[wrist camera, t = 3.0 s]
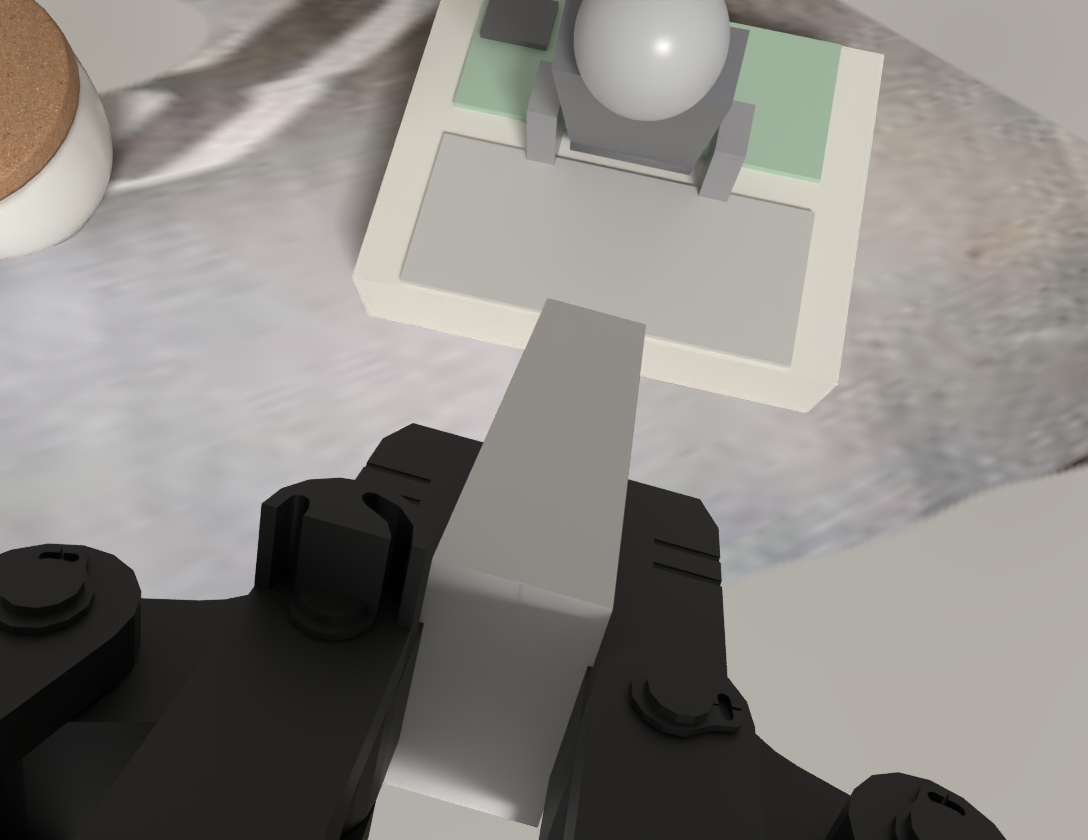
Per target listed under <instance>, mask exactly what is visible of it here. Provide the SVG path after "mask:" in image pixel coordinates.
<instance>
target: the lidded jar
mask: <svg viewBox="0 0 1088 840" xmlns="http://www.w3.org/2000/svg"><path fill="white" fill-rule="evenodd" d="M112 161H113V148H112V138H111V129H110V126H109V122H108V119H107V116H106V113H105V110H104V107H103V104H102V101H101V99H100V97H99V95H98V93H97V91H96V89H95V87H94V85H93V83H92V81H91V80H90V78H89V76H88V74H87V72H86V70H85V69H84V67H83V66H82V65H81V63H80V61H79V60H78V58H77V57H76V55H75V54H74V53H73V51H72V48H71V47H70V45H69V43H68V41H67V39H66V37H65V35H64V34H63V32H62V31H61V29H60V28H59V27H58V25H57V24H56V23H55V21H54V20H53V19H52V18H51V17H50V15H49V14H48V13H47V12H46V10H45V9H44V8H42V7H41V6H40V5H39V4H38V3H37V2H35V1H34V0H0V260H1V259H12V258H18V257H23V256H28V255H32V254H35V253H38V252H41V251H44V250H46V249H48V248H50V247H52V246H55V245H57V244H59V243H61V242H63V241H65V240H67V239H68V238H70V237H71V236H73V235H74V234H75V233H76V232H78V231H79V230H80V229H81V228H82V227H83V226H84V225H85V224H86V222H87V221H88V220H89V219H90V217H91V216H92V214H93V213H94V212H95V210H96V208H97V207H98V205H99V204H100V202H101V201H102V198H103V196H104V194H105V192H106V189H107V186H108V182H109V178H110V174H111V170H112Z"/></svg>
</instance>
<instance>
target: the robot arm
mask: <svg viewBox="0 0 1088 840" xmlns="http://www.w3.org/2000/svg"><path fill="white" fill-rule="evenodd" d="M645 330H646V324H642V323H639V322H635V321H631V320H628V319H624V318H620V317H617V316H613V315H609V314H605V313H602V312H598V311H594V310H591V309H587V308H583V307H580V306H576V305H572V304H569V303H565V302H561V301H558V300H554V299H550V298H547V300H546V302H545V305H544V307H543V309H542V312H541V314H540V316H539V318H538V321H537V323H536V325H535V327H534V330H533V332H532V334H531V336H530V339H529V341H528V343H527V345H526V348H525V350H524V352H523V355H522V357H521V359H520V361H519V364H518V366H517V368H516V370H515V373H514V375H513V377H512V379H511V382H510V384H509V386H508V388H507V391H506V393H505V395H504V398H503V400H502V402H501V404H500V407H499V409H498V411H497V413H496V416H495V418H494V420H493V422H492V425H491V427H490V429H489V431H488V434H487V436H486V438H485V441H484V443H483V442H480V441H476V440H472V439H469V438H465V437H461V436H458V435H454V434H451V433H447V432H443V431H440V430H436V429H433V428H429V427H425V426H422V425H418V424H414V423H412V424H410V425H408V426H406V427H404V428H402V429H400V430H399V431H397V432H395V433H393V434H391V435H389V436H387V437H385V438H383V439H382V441H381V442H380V444H379V445H378V447H377V448H376V450H375V451H374V453H373V454H372V456H371V457H370V459H369V460H368V462H367V465H366V467H364V468H363V469H362V471H361V472H360V474H359V475H358V476H357V478H356V479H355V480H352V479H345V478H327V479H310V480H306V481H303V482H300V483H297V484H294V485H291V486H287V487H284V488H281V489H280V490H279V491H277V492H276V493H275V494H274V495H272V496H271V497H270V498H268V499H267V500H266V501H264V502H263V503H262V506H261V517H260V528H259V540H258V551H257V562H256V573H255V584H254V587H253V589H252V590H251V592H250V593H249V594H248V595H245V596H240V597H235V598H230V599H224V600H199V601H198V600H172V599H145V598H141V589H140V587H139V584H138V581H137V579H136V576H135V573H134V571H133V570H132V569H131V568H130V567H128V566H127V565H126V564H125V563H123V562H122V561H121V560H119V559H118V558H117V557H116V556H114V555H113V554H109V553H106V552H103V551H100V550H97V549H94V548H90V547H87V546H84V545H65V544H43V545H37V546H31V547H25V548H19V549H13V550H9V551H7V552H4V553H2V554H0V840H368V837H369V832H370V827H371V822H372V817H373V812H374V807H375V803H376V799H377V796H378V794H379V791H380V789H381V786H382V783H383V781H384V778H385V775H386V773H387V770H388V773H387V777H386V782H385V784H388V785H391V786H394V787H398V788H402V789H405V790H409V791H412V792H416V793H419V794H422V795H426V796H429V797H433V798H436V799H440V800H443V801H447V802H451V803H454V804H457V805H461V806H465V807H468V808H471V809H475V810H478V811H481V812H485V813H489V814H492V815H495V816H499V817H502V818H506V819H509V820H513V821H516V822H520V823H523V824H527V825H530V826H534V827H538V824H539V821H540V818H541V816H542V813H543V818H542V824H541V829H540V836H539V840H1006V839H1005V837H1004V836H1003V835H1002V833H1001V832H1000V831H999V830H998V828H997V827H996V826H995V824H994V823H992V822H991V821H990V820H989V819H988V818H986V817H985V816H984V815H983V814H982V813H980V812H979V811H978V810H977V809H976V808H974V807H973V806H972V805H971V804H970V803H968V802H967V801H966V800H965V799H964V798H962V797H960V796H958V795H957V794H955V793H953V792H951V791H949V790H947V789H945V788H944V787H942V786H940V785H938V784H936V783H934V782H932V781H930V780H927V779H923V778H919V777H915V776H911V775H907V774H903V773H898V772H897V773H888V774H878V775H872V776H871V777H869V778H868V779H867V780H865V781H864V782H863V783H861V784H860V785H859V786H858V787H856V788H855V789H854V791H853V792H852V794H851V796H850V795H848V794H847V793H845V792H843V791H841V790H839V789H837V788H836V787H834V786H832V785H830V784H829V783H827V782H825V781H823V780H822V779H820V778H818V777H816V776H814V775H813V774H810V773H809V772H807V771H805V770H804V769H802V768H800V767H798V766H796V765H795V764H794V763H792V762H790V761H789V760H788V759H786V758H784V757H783V756H781V755H780V754H778V753H777V752H775V751H774V750H773V749H772V748H771V747H770V746H769V745H768V744H766V743H765V742H764V741H763V740H762V739H760V737H759V736H758V735H756V734H755V726H754V723H753V720H752V717H751V713H750V710H749V707H748V704H747V701H746V700H745V699H744V698H743V696H742V695H741V694H740V692H739V691H738V690H737V688H736V687H735V686H734V685H733V684H732V682H731V681H730V679H729V678H727V665H726V664H727V663H726V646H725V630H724V613H723V596H722V587H721V586H720V584H721V581H722V579H721V563H720V562H719V559H720V546H719V529H718V527H717V525H716V524H715V522H714V520H713V519H712V517H711V516H710V514H709V513H708V511H707V510H706V508H705V506H704V505H703V503H702V502H701V500H700V499H697V498H694V497H690V496H686V495H683V494H679V493H676V492H672V491H668V490H665V489H661V488H657V487H654V486H650V485H647V484H643V483H639V482H636V481H632V480H628V475H629V466H630V458H631V449H632V441H633V432H634V424H635V415H636V407H637V398H638V389H639V381H640V372H641V364H642V355H643V347H644V338H645ZM543 810H544V812H543Z"/></svg>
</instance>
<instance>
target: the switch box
mask: <svg viewBox="0 0 1088 840" xmlns="http://www.w3.org/2000/svg"><path fill="white" fill-rule="evenodd" d="M564 4H565V0H441V1H440V4H439V7H438V10H437V13H436V17H435V20H434V23H433V26H432V29H431V32H430V35H429V38H428V41H427V45H426V48H425V51H424V54H423V57H422V60H421V63H420V66H419V69H418V73H417V76H416V79H415V82H414V85H413V88H412V91H411V94H410V97H409V101H408V104H407V107H406V110H405V113H404V116H403V119H402V122H401V125H400V128H399V132H398V135H397V138H396V141H395V144H394V147H393V150H392V153H391V156H390V160H389V163H388V166H387V169H386V172H385V175H384V178H383V181H382V184H381V188H380V191H379V194H378V197H377V200H376V203H375V206H374V209H373V212H372V216H371V219H370V222H369V225H368V228H367V231H366V234H365V237H364V240H363V244H362V247H361V250H360V253H359V256H358V259H357V262H356V265H355V268H354V272H353V275H352V278H353V280H354V283H355V285H356V287H357V289H358V292H359V294H360V296H361V299H362V301H363V303H364V305H365V308H366V310H367V312H368V315H369V316H374V317H378V318H383V319H387V320H391V321H396V322H400V323H405V324H409V325H414V326H418V327H423V328H427V329H432V330H436V331H441V332H445V333H450V334H454V335H459V336H463V337H468V338H472V339H476V340H481V341H485V342H490V343H494V344H499V345H503V346H508V347H512V348H517V349H521V350H525V348H526V345H527V343H528V341H529V339H530V336H531V334H532V332H533V330H534V327H535V325H536V323H537V321H538V318H539V316H540V314H541V312H542V309H543V307H544V305H545V302H546V300H547V298H550V299H554V300H558V301H561V302H565V303H569V304H572V305H576V306H580V307H583V308H587V309H591V310H594V311H598V312H602V313H605V314H609V315H613V316H617V317H620V318H624V319H628V320H631V321H635V322H639V323H642V324H646V330H645V338H644V347H643V355H642V364H641V372H640V376H642V377H646V378H651V379H655V380H660V381H664V382H669V383H673V384H678V385H682V386H687V387H691V388H696V389H700V390H705V391H709V392H714V393H718V394H723V395H727V396H731V397H736V398H740V399H745V400H749V401H754V402H758V403H763V404H767V405H772V406H776V407H781V408H785V409H790V410H794V411H799V412H803V413H807V412H808V411H809V410H811V409H812V408H813V407H814V406H815V405H816V404H817V403H818V402H819V401H820V400H821V399H822V398H823V397H825V396H826V395H827V394H828V393H829V392H830V391H831V390H832V389H833V388H834V387H835V386H836V385H837V384H838V378H839V371H840V364H841V357H842V350H843V343H844V336H845V329H846V322H847V315H848V308H849V301H850V294H851V287H852V280H853V273H854V266H855V259H856V252H857V244H858V237H859V230H860V223H861V216H862V209H863V202H864V195H865V188H866V181H867V174H868V167H869V160H870V153H871V146H872V139H873V132H874V125H875V118H876V111H877V103H878V96H879V89H880V82H881V75H882V68H883V61H884V55H883V54H878V53H873V52H868V51H863V50H858V49H854V48H849V47H844V46H842V45H841V44H836V43H831V42H826V41H821V40H816V39H811V38H806V37H802V36H797V35H792V34H787V33H782V32H777V31H772V30H767V29H762V28H757V27H753V26H748V25H743V24H738V23H733V22H730V26H731V27H736V28H741V29H746V30H750V32H749V36H748V41H747V45H746V49H745V53H744V57H743V61H742V66H741V70H740V74H739V78H738V82H737V86H736V90H735V95H734V99H733V103H732V107H731V109H730V110H729V112H728V113H727V115H726V116H725V118H724V120H723V121H722V123H721V124H720V126H719V127H718V129H717V131H716V132H715V134H714V135H713V137H712V138H711V140H710V142H709V143H708V145H707V146H706V148H705V149H704V151H703V153H702V154H701V156H700V157H699V159H698V160H697V162H696V164H695V165H694V167H693V169H692V172H691V174H690V175H685V174H681V173H676V172H671V171H666V170H662V169H657V168H652V167H648V166H643V165H638V164H634V163H629V162H624V161H619V160H615V159H610V158H605V157H601V156H596V155H591V154H587V153H582V152H577V151H572V150H570V139H569V135H568V131H567V127H566V124H565V120H564V116H563V112H562V109H561V105H560V101H559V97H558V94H557V90H556V86H555V82H554V79H553V75H552V71H551V67H552V62H553V57H554V53H555V48H556V43H557V38H558V33H559V29H560V24H561V19H562V14H563V9H564Z"/></svg>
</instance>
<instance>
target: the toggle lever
mask: <svg viewBox="0 0 1088 840" xmlns="http://www.w3.org/2000/svg"><path fill="white" fill-rule="evenodd" d="M749 32H750V30H746V29H741V28H736V27H731V26H730V21H729V16H728V11H727V7H726V4H725V1H724V0H565V4H564V9H563V14H562V19H561V24H560V29H559V33H558V38H557V43H556V48H555V53H554V57H553V62H552V67H551V71H552V75H553V79H554V82H555V86H556V90H557V94H558V97H559V101H560V105H561V109H562V112H563V116H564V120H565V124H566V127H567V131H568V135H569V139H570V150H572V151H577V152H582V153H587V154H591V155H596V156H601V157H605V158H610V159H615V160H619V161H624V162H629V163H634V164H638V165H643V166H648V167H652V168H657V169H662V170H666V171H671V172H676V173H681V174H685V175H690V174H691V172H692V169H693V167H694V165H695V164H696V162H697V160H698V159H699V157H700V156H701V154H702V153H703V151H704V149H705V148H706V146H707V145H708V143H709V142H710V140H711V138H712V137H713V135H714V134H715V132H716V131H717V129H718V127H719V126H720V124H721V123H722V121H723V120H724V118H725V116H726V115H727V113H728V112H729V110H730V109H731V107H732V103H733V99H734V95H735V90H736V86H737V82H738V78H739V74H740V70H741V66H742V61H743V57H744V53H745V49H746V45H747V41H748V36H749Z"/></svg>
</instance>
